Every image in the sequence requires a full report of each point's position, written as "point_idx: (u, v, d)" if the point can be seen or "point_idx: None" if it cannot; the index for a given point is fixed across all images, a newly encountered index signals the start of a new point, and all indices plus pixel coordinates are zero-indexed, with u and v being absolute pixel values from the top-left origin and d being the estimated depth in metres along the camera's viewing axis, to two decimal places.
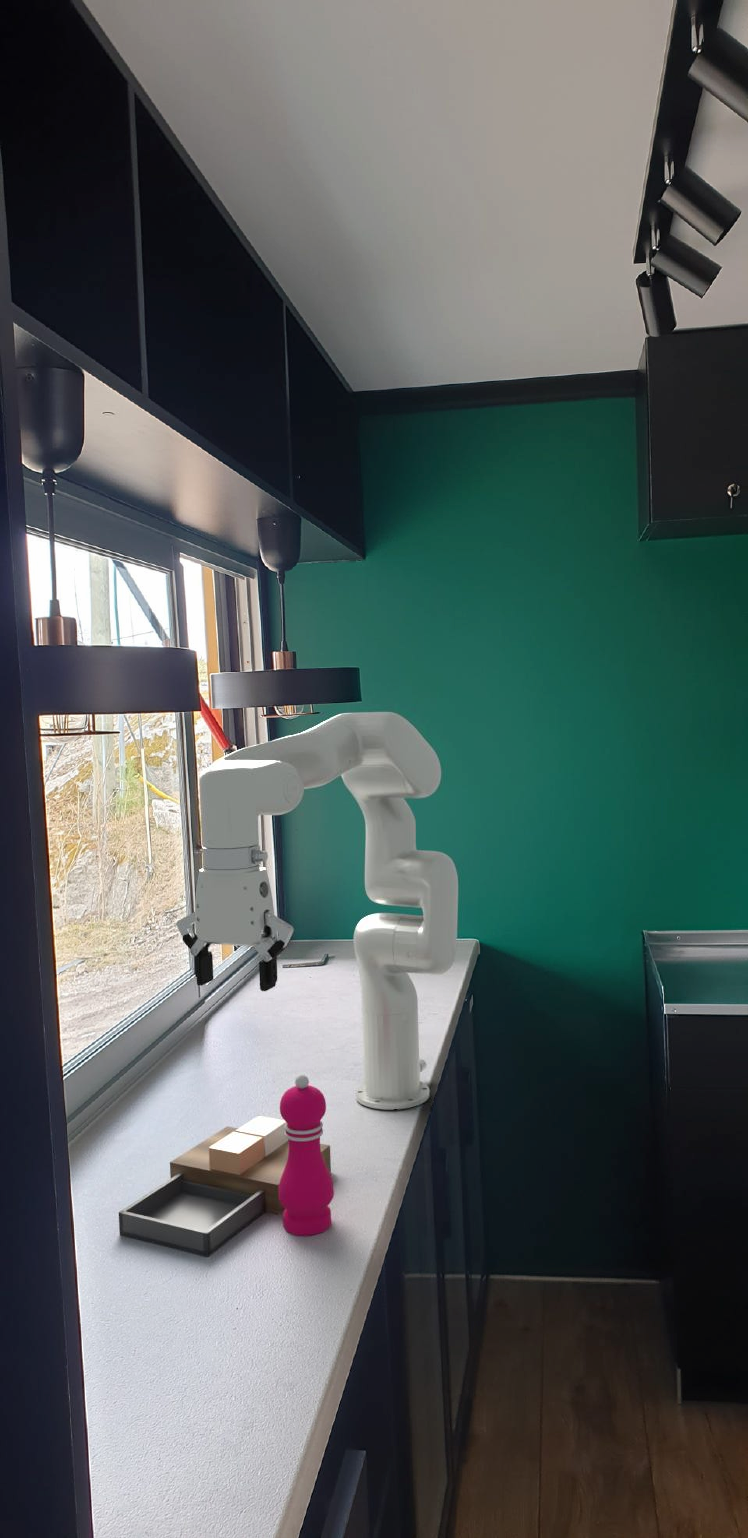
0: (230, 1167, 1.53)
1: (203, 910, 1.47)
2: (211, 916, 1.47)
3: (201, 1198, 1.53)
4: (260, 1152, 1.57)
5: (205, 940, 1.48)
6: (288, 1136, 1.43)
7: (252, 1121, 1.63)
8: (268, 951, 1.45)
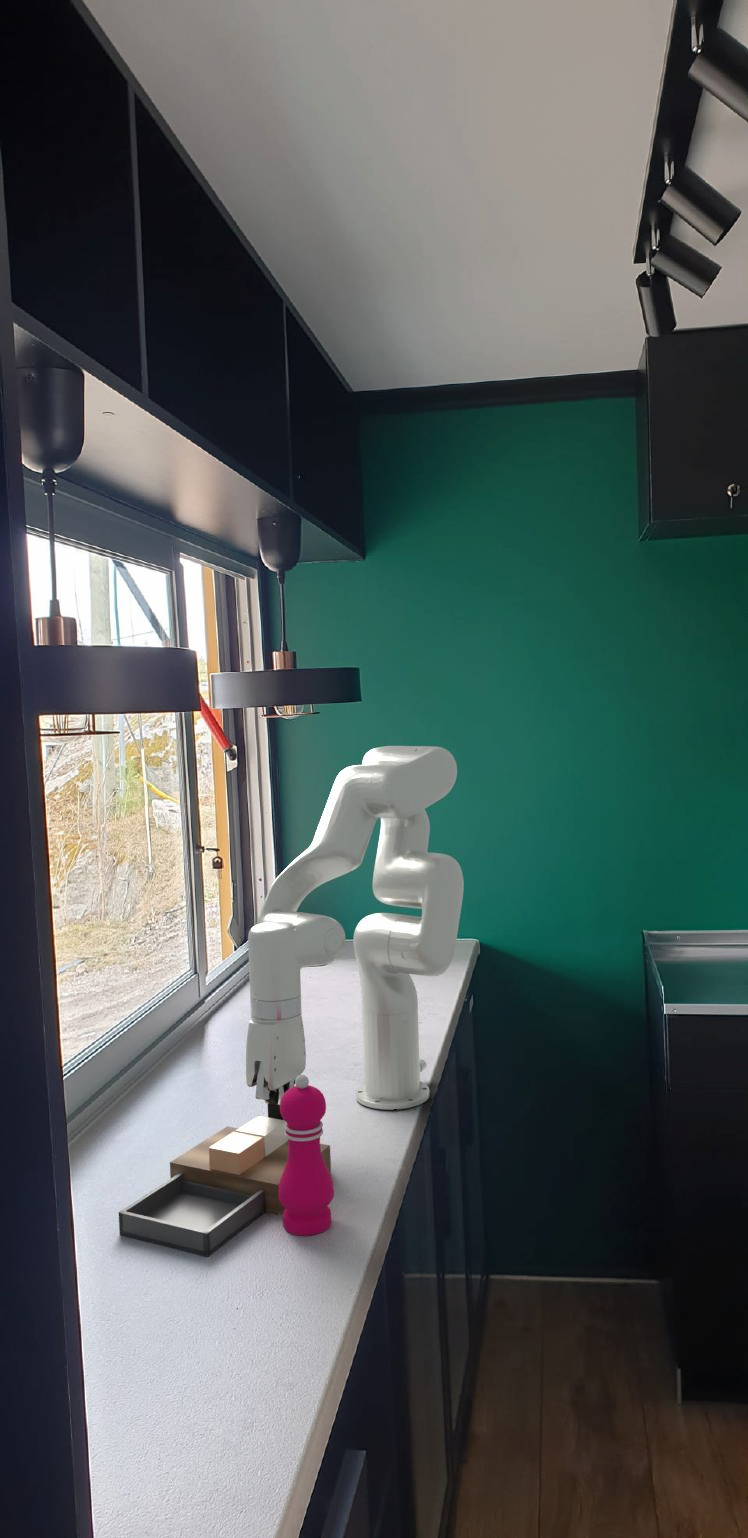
0: (230, 1167, 1.53)
1: (279, 1059, 1.61)
2: (284, 1061, 1.62)
3: (201, 1198, 1.53)
4: (260, 1152, 1.57)
5: (278, 1086, 1.62)
6: (288, 1136, 1.43)
7: (252, 1121, 1.63)
8: None
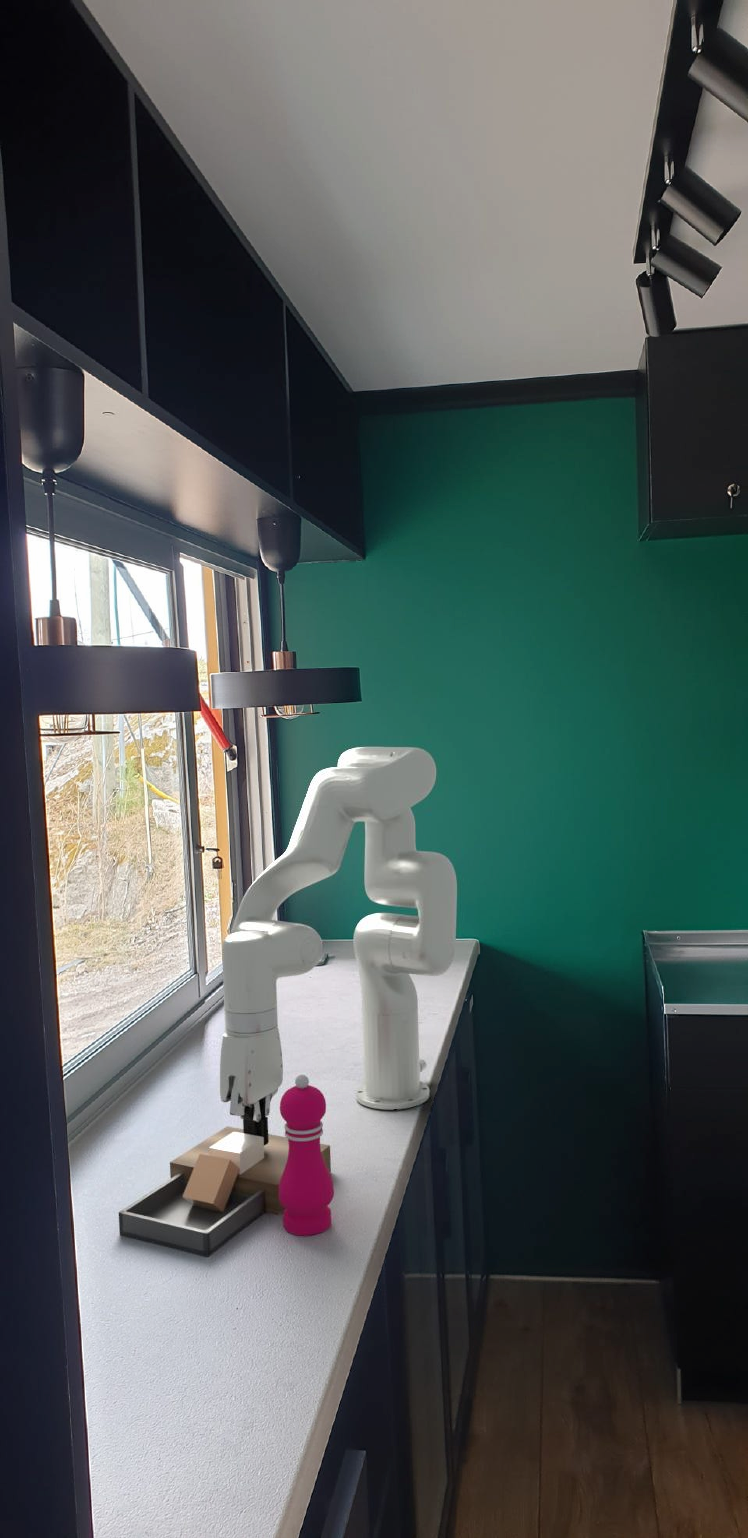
0: (211, 1208, 1.49)
1: (254, 1073, 1.55)
2: (259, 1076, 1.57)
3: None
4: (234, 1171, 1.51)
5: (253, 1102, 1.56)
6: (288, 1136, 1.43)
7: (227, 1137, 1.57)
8: None
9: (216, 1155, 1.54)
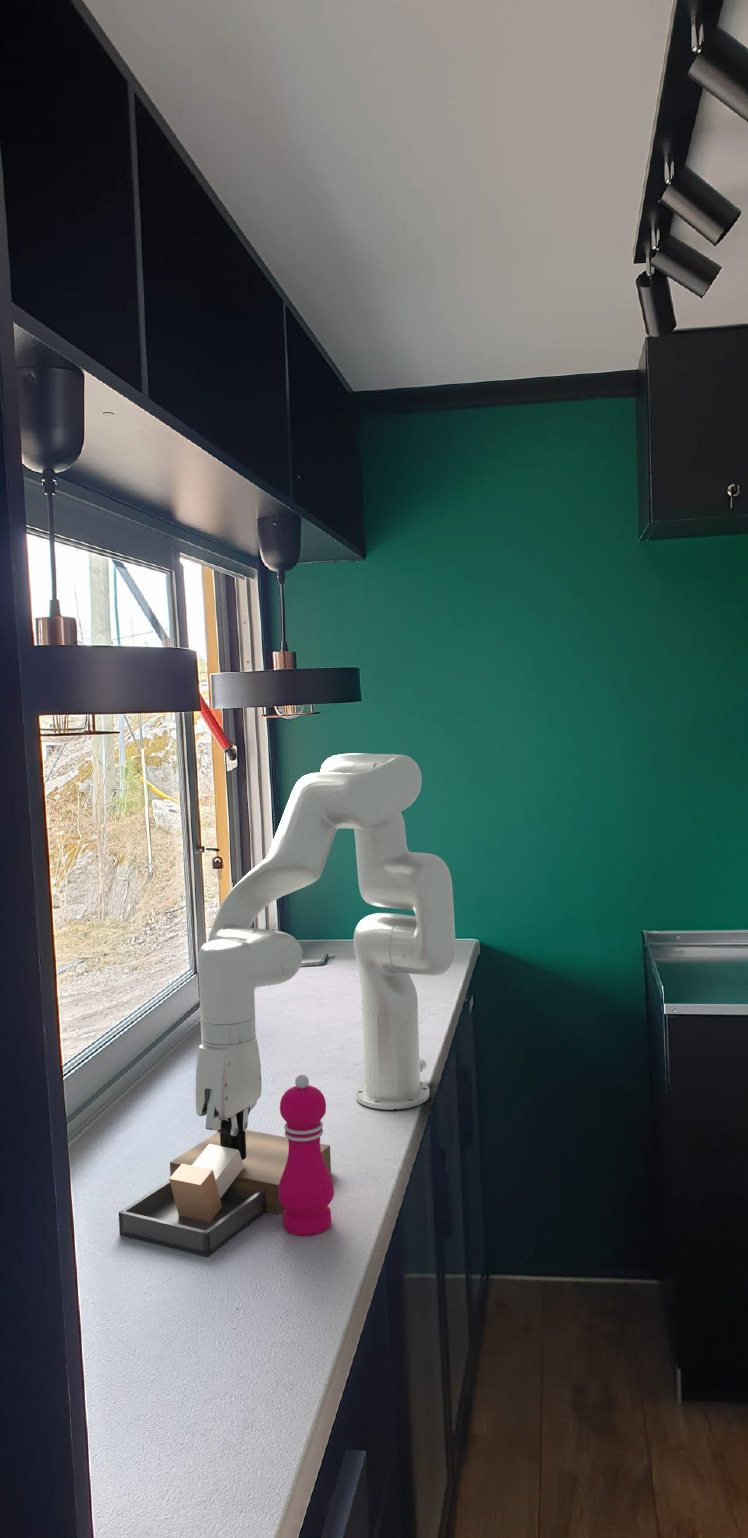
0: None
1: (230, 1086, 1.51)
2: (236, 1089, 1.52)
3: None
4: (209, 1180, 1.46)
5: (229, 1116, 1.51)
6: (288, 1136, 1.43)
7: (202, 1155, 1.52)
8: None
9: None
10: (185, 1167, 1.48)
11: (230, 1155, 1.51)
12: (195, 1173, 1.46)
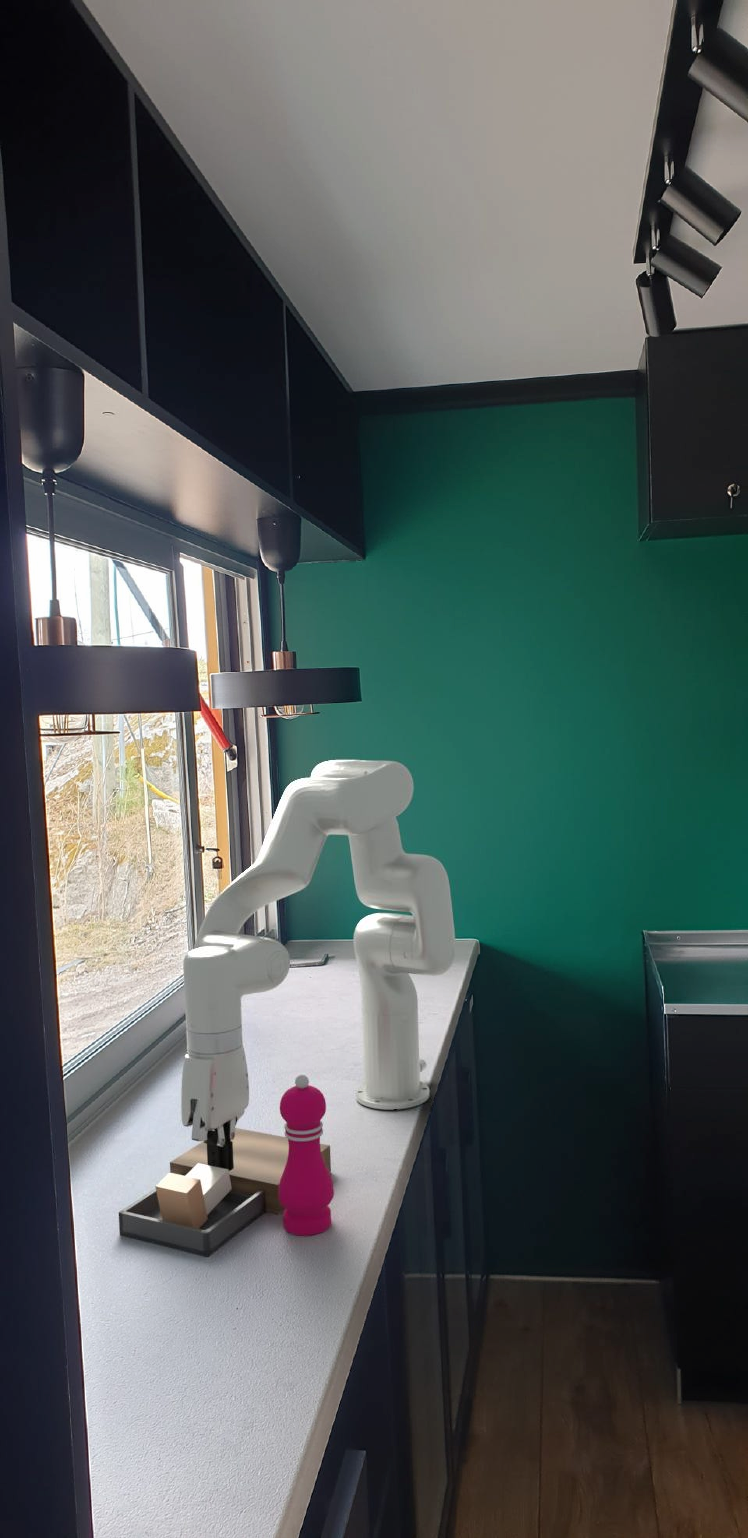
0: None
1: (217, 1096, 1.48)
2: (223, 1099, 1.49)
3: None
4: (196, 1189, 1.43)
5: (216, 1126, 1.48)
6: (288, 1136, 1.43)
7: (190, 1173, 1.50)
8: None
9: None
10: (172, 1176, 1.45)
11: (219, 1174, 1.49)
12: (182, 1182, 1.44)
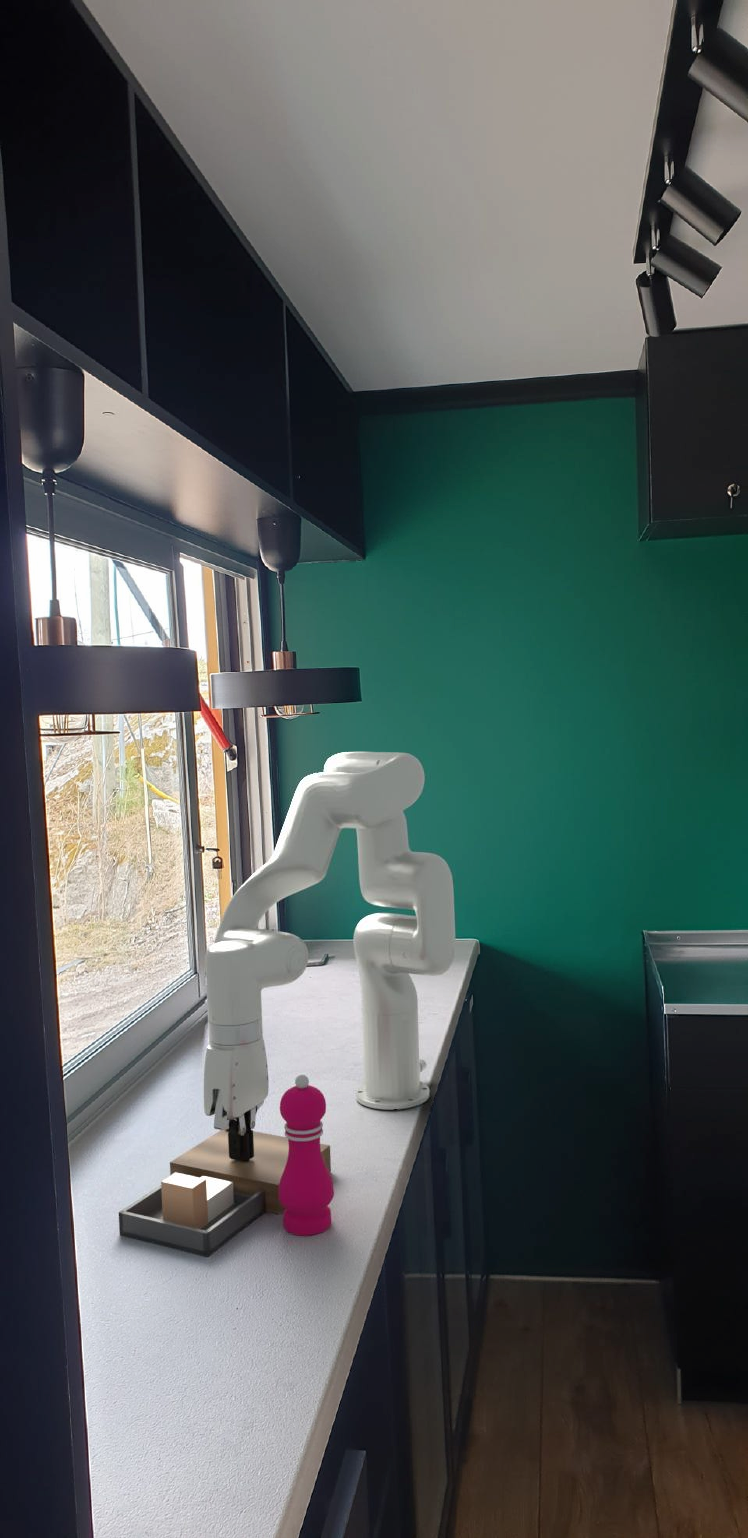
0: None
1: (238, 1086, 1.52)
2: (244, 1088, 1.53)
3: None
4: (201, 1188, 1.44)
5: (237, 1115, 1.52)
6: (288, 1136, 1.43)
7: None
8: None
9: None
10: (178, 1175, 1.46)
11: (224, 1185, 1.50)
12: (188, 1180, 1.45)
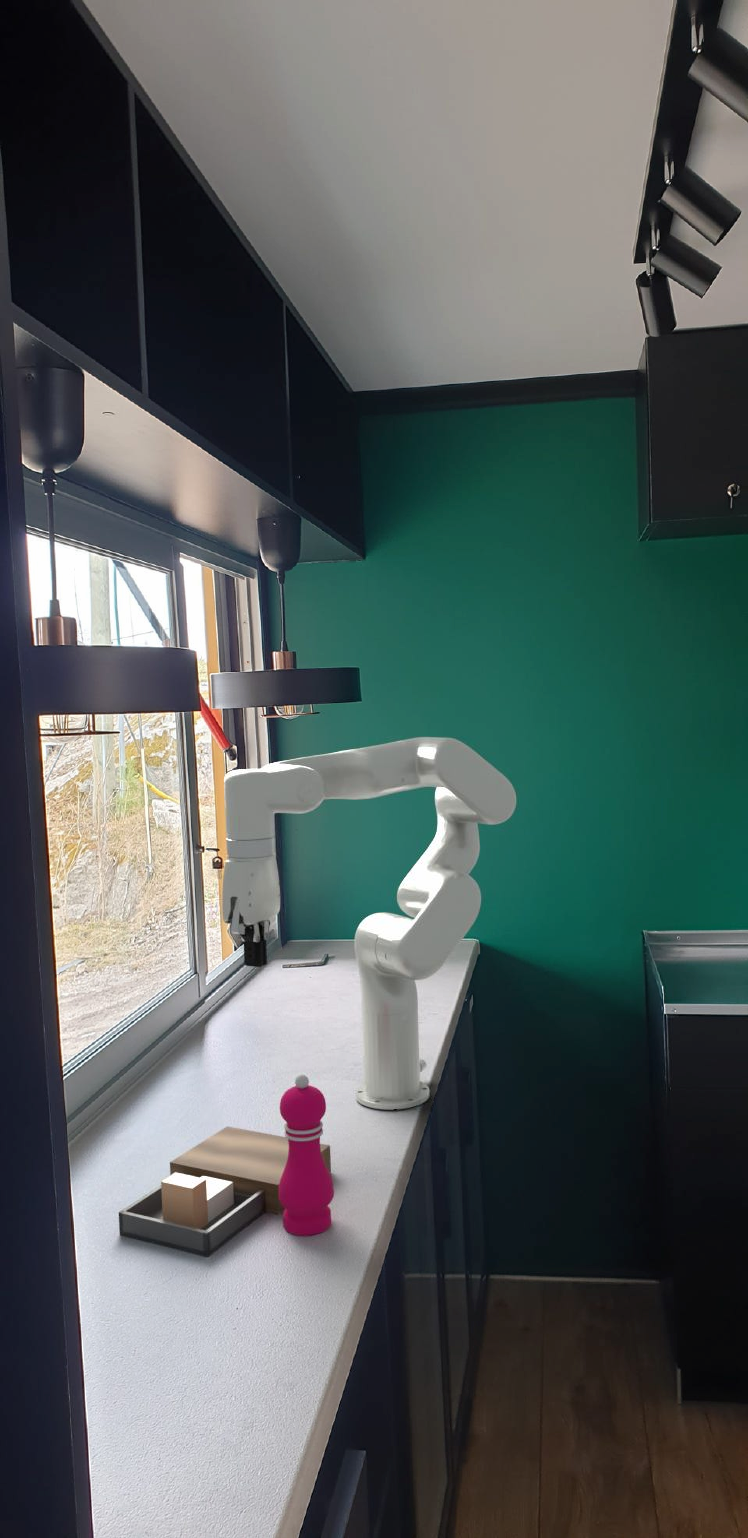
0: None
1: (253, 895, 1.70)
2: (258, 898, 1.71)
3: None
4: (201, 1188, 1.44)
5: (252, 922, 1.70)
6: (288, 1136, 1.43)
7: None
8: None
9: None
10: (178, 1175, 1.46)
11: (224, 1185, 1.50)
12: (188, 1180, 1.45)
